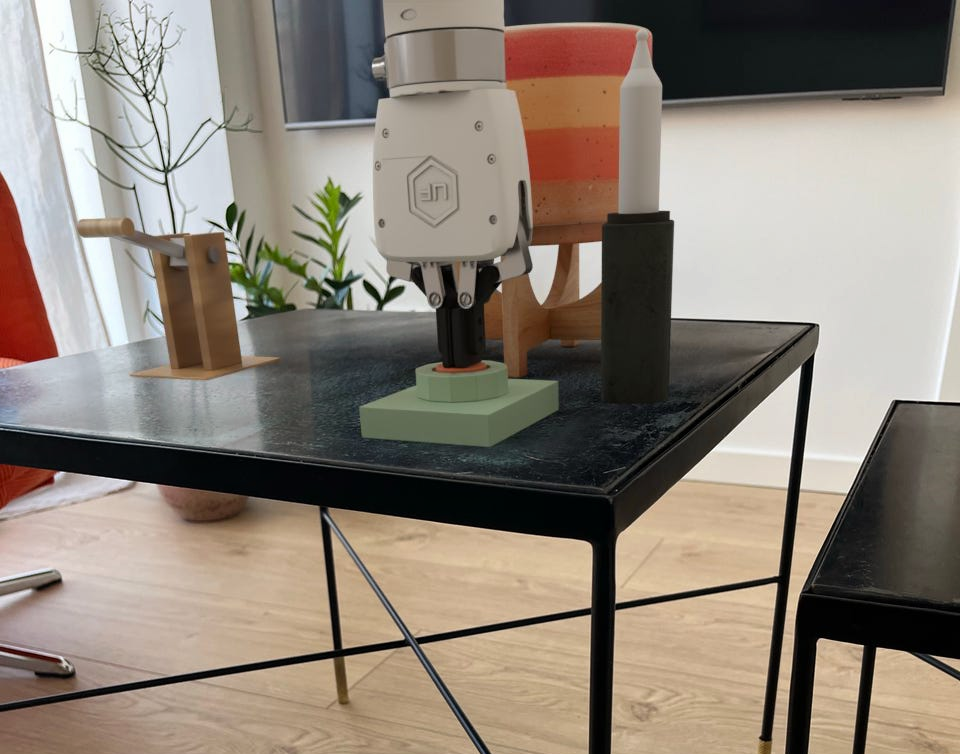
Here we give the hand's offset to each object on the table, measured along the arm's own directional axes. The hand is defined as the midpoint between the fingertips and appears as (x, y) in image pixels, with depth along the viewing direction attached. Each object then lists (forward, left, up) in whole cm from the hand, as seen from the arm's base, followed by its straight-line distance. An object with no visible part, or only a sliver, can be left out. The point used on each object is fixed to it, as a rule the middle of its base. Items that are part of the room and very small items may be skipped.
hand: (462, 364), depth 72 cm
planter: (+27, +5, -4) cm, 28 cm away
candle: (+12, -9, -4) cm, 16 cm away
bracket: (+11, +33, -4) cm, 35 cm away
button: (0, 0, -2) cm, 2 cm away
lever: (+6, +33, +7) cm, 34 cm away
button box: (0, 0, -4) cm, 4 cm away
